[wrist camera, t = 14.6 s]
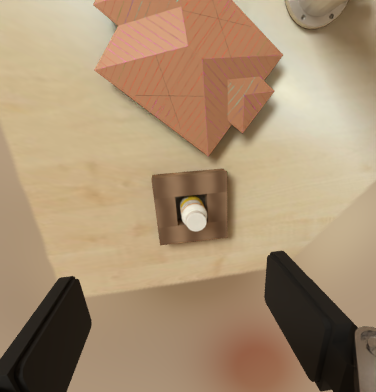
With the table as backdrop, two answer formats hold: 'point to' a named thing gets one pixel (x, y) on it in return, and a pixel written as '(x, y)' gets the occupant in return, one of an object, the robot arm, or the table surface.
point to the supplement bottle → (193, 213)
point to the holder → (185, 186)
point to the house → (189, 64)
